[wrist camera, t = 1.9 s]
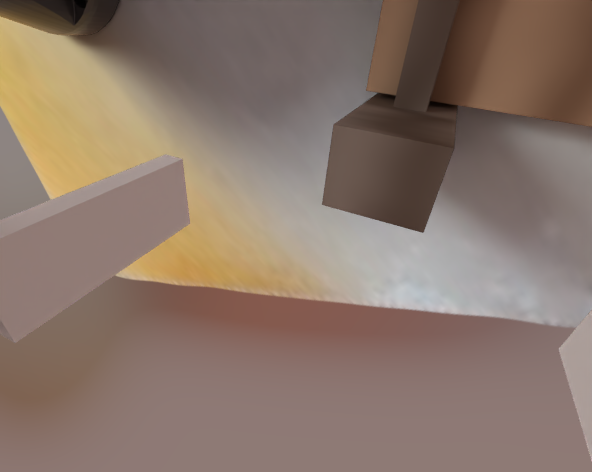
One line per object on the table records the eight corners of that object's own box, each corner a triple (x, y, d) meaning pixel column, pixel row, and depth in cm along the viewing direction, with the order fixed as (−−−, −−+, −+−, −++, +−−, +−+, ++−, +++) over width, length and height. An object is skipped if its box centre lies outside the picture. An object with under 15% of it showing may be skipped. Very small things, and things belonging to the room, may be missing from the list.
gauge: (364, 162, 25) (319, 221, 17) (430, -151, 16) (399, -328, 8) (432, 177, 23) (416, 250, 15) (547, -158, 14) (646, -383, 7)
